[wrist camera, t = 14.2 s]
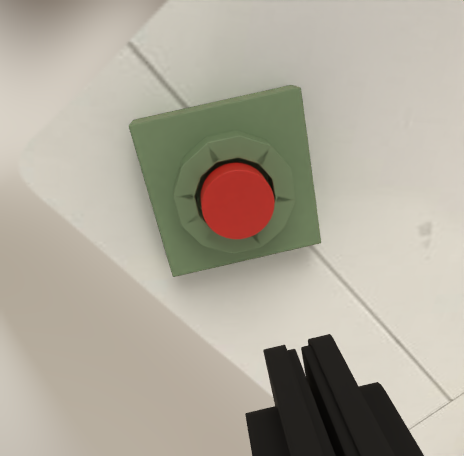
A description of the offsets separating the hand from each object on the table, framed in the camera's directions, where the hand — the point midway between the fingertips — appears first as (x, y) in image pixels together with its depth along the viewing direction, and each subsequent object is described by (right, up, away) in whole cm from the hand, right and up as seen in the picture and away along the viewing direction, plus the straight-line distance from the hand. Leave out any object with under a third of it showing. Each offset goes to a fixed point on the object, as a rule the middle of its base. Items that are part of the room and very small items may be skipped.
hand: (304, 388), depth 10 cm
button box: (-2, +7, +18) cm, 19 cm away
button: (-2, +6, +14) cm, 15 cm away
